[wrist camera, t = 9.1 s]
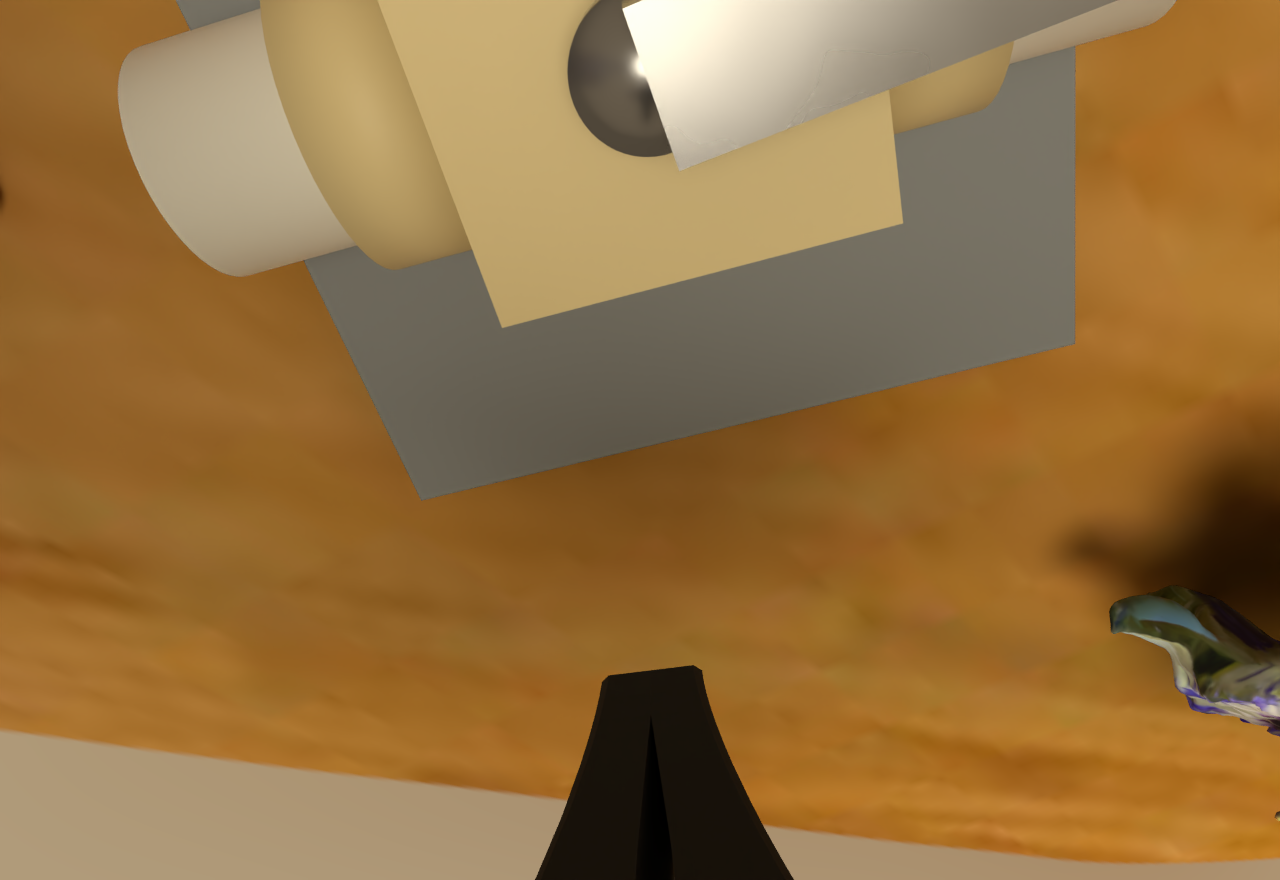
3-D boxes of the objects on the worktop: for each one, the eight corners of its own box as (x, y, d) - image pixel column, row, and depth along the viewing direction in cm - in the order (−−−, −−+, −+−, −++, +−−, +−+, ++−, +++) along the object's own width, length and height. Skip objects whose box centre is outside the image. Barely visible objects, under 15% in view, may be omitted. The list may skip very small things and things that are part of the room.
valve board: (430, 474, 22) (373, 644, 17) (-11, -455, 13) (-425, -705, 8) (1051, 322, 21) (1203, 461, 15) (1034, -870, 12) (1394, -1548, 6)
